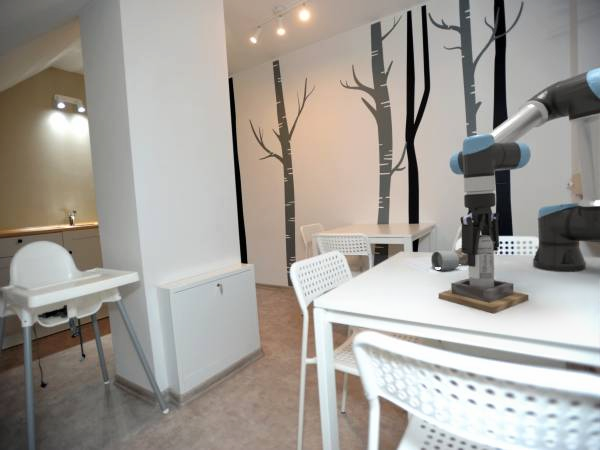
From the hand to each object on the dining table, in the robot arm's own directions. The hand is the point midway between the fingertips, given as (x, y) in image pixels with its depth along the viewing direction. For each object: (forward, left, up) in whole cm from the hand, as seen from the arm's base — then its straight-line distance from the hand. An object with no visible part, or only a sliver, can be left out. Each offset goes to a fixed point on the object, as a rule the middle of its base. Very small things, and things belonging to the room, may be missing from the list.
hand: (481, 275), depth 91 cm
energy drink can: (0, 0, -4) cm, 4 cm away
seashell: (-38, -32, -7) cm, 50 cm away
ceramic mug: (-23, -31, -7) cm, 39 cm away
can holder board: (0, 0, -7) cm, 7 cm away
